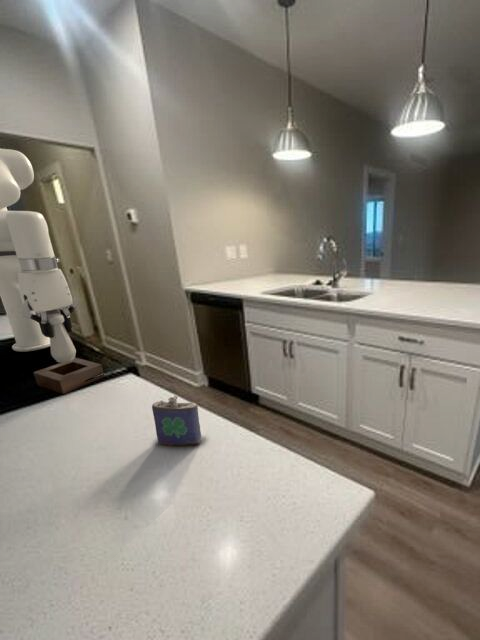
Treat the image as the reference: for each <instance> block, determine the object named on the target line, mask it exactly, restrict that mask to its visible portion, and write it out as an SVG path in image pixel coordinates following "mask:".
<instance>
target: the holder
mask: <svg viewBox="0 0 480 640" xmlns="http://www.w3.org/2000/svg"><path fill="white" fill-rule="evenodd" d="M103 368H104V367H103V365H102V364H101V363H97V362H95V361H94V362H93V361H90V360H87V359H82V358H79V357H75V359H73V360H72V361H68V362H64V363H62V362H58V363H56V364H54V365H51V366H48V367H45V368H42V369H39V370H36V371H33V377H34V379H35V382H36V385H37V386H38V387H41V388H45V389H46V390H50V391H53V392H56V393H59V394H61V395H66V394H68V393H70V392H72V391H74V390H78V389H80V388H82V387H85V386H86V385H89V384H91V383H94V382H96V381H98V380H101V379H103V378H105V371H104V369H103ZM102 373H104V374H103V375H100V374H102ZM97 375H100V376H98V377H95V376H97ZM92 377H95V378H93V379H91V380H88V379H90V378H92ZM86 380H88V381H86ZM85 381H86V382H85Z"/></svg>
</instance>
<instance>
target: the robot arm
mask: <svg viewBox="0 0 480 640" xmlns="http://www.w3.org/2000/svg"><path fill="white" fill-rule="evenodd" d="M34 174H35V173H34V168H33V165H32V163H31V161H30V160H29V159H28V157H27V156H26V155H25V154H24V153H23V152H21V151H19V150H16V149H10V148H0V252H15V254H13V255H12V254H11V255H0V299H1V302H2V305H3V309H4V311H5V314H6V318H7V319H8V322H9V325H10V328H11V331H12V334H13V338H14V340H15V343H14V344H13V345H12V346H11V349H12V350H13V351H15V352H22V353H23V352H25V353H26V352H33V351H39V350H42V349H47V348H49V347H51V345H50V338H53V337H54V335H53V332H52V329H51V325H50V323H47V315H48V314H47V312H51V311H54V310H57V311H58V314H61V315H63V317H64V322H63V325H64V327H65V329H66V331H67V333H68V334H69V333H73V329H72V328H73V326H72V321H71V317H72V314H73V312H74V310H75V309H76V308H77V306H78V305H79V304H80V303H79V301H78V300H77V299H76V298H75V297H73V296H72V294H71V293H72V292H71V290H70V288H69V284H68V282H67V280H66V277H65V275H64V273H63V271H62V269H61V268H58V267H59V266H58V264H61V263H62V260H61V259H60V258H59V257H57V256H55V253H54V249H53V245H52V242H51V241H52V240H51V237H50V234H49V232H50V231H49V227H48V223H47V220H46V218H45V217H44V215H43V214H42V213H40V212H38V211H33V210H32V211H31V210H8V208H7V207H10V206H12V205H14V204H16V203H17V202H19V200H20V198H21V191H23V190H25V189H27V188H28V187H29V186H30V185H32V184H33V182H34V179H35V175H34ZM56 257H57V258H56Z"/></svg>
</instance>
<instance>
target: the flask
mask: <svg viewBox="0 0 480 640" xmlns="http://www.w3.org/2000/svg"><path fill="white" fill-rule="evenodd" d="M177 399H179V397H178V396H176V395H173V396H171V397H169V398H168V399H167V400H168V401H164V400H163V399H161V400H160V401H156V402H153V403H152V405H151V410H152V414H153V420H154V426H155V433H156V439H157V442H158V444H159V445H161V446H167V447H169V446H170V447H178V446H179V447H186V446H187V447H189V446H197V445H200V444H201V443H202V441H203V437H202V432H201V431H202V430H201V423H200V416H199V407H198V404H197V403H196V402H193V401H191V402H178V400H177Z"/></svg>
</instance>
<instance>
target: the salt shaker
mask: <svg viewBox="0 0 480 640" xmlns="http://www.w3.org/2000/svg"><path fill="white" fill-rule="evenodd" d="M63 322H64V317H63V315H61V314H60V313H50V314H47V323H50V325H51V329H52V332H53V335H54V337H53V338H50V345H51V346H50V355H51V358H53V359H54V361H55V362H57V363H64V362H68V361H72V360H73V359H75V358H76V353H77V350H76V347H75V345H74V343H73V340H72V339H71V336H70V335H69V332H67V331H66V329H65V327H64V325H63Z"/></svg>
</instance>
